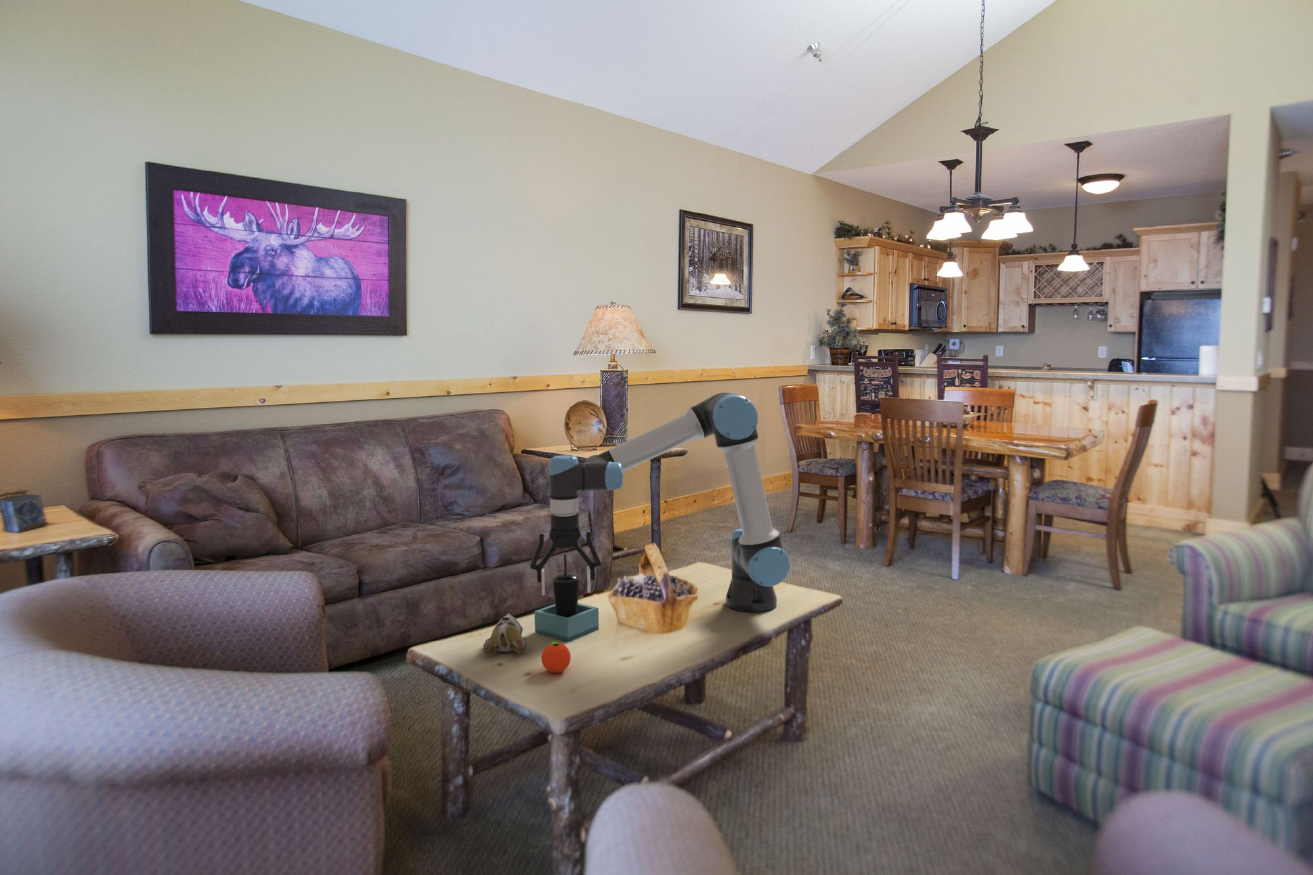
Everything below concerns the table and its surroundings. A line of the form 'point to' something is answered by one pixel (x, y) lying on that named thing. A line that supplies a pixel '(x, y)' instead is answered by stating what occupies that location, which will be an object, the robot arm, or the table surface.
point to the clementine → (556, 657)
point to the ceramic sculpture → (505, 637)
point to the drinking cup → (566, 592)
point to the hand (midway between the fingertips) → (566, 592)
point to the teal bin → (566, 622)
